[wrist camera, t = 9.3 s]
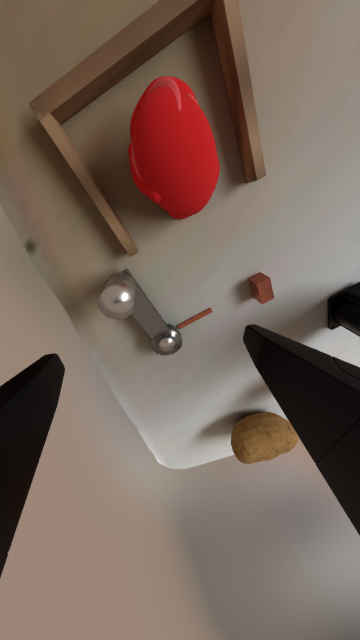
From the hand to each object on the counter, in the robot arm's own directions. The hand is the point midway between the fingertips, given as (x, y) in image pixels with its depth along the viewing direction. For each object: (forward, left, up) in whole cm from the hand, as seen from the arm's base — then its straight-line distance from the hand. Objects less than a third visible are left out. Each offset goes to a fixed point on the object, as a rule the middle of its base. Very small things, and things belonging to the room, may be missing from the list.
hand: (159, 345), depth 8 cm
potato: (-40, -2, -13) cm, 42 cm away
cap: (+6, -6, -13) cm, 16 cm away
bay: (+8, -6, -13) cm, 16 cm away
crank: (-4, +3, -11) cm, 12 cm away
